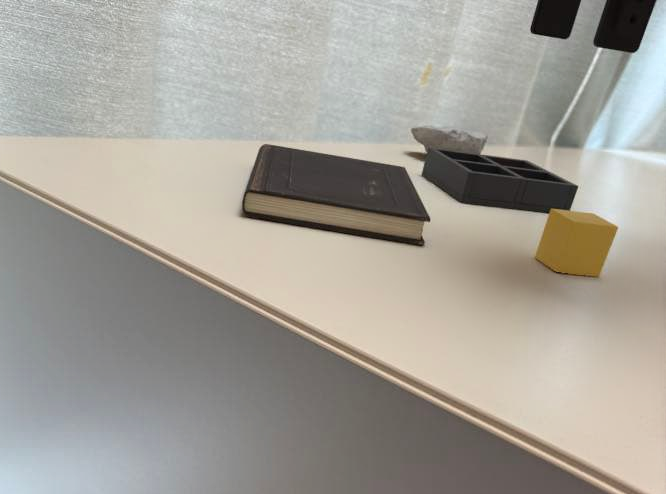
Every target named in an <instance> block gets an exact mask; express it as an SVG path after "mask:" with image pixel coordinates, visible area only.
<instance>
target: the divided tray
mask: <svg viewBox="0 0 666 494" xmlns="http://www.w3.org/2000/svg"><path fill="white" fill-rule="evenodd" d="M421 176H422V177H423V178H425V179H426V180H427V181H429V182H431V183H432V184H433V185H434V186H437V187H438V188H439V189H441V190H442V191H443V192H445V193H447V194H448V195H449V196H451V197H452V198H453V199H455V200H456V201H458V202H460V203H462V204H469V205H477V206H478V205H479V206H486V207H487V206H488V207H496V208H502V209H512V210H521V211H529V212H537V213H546V214H549V213H550V210H551V209H560V210H568V211H571V209H572V206H573V204H574V200H575V198H576V195H577V192H578V190H579V185H577V184H575V183H573V182H571V181H569V180H567V179H565V178H563V177H561V176H559V175H557V174H556V173H554V172H551V171H549V170H547V169H546V168H543V167H541V166H539V165H538V164H536V163H533V162H531V161H529V160H526V159H519V158H513V157H512V158H511V157H504V156H496V155H490V154H489V155H488V154H482V153H481V154H475V153H467V152H460V151H452V150H445V149H437V148H430V147H428V150H427V152H426V154H425V158H424V163H423V166H422V171H421Z"/></svg>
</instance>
